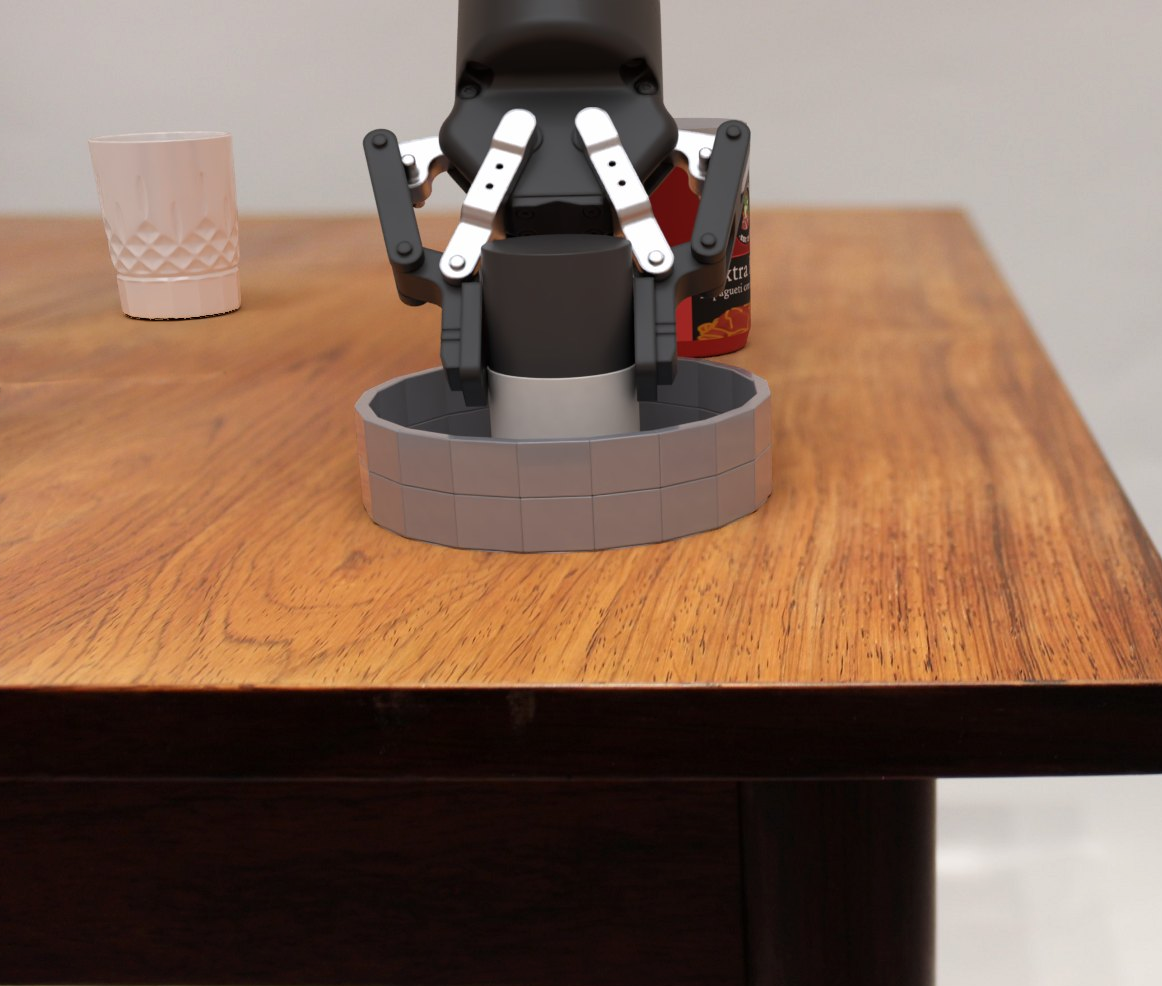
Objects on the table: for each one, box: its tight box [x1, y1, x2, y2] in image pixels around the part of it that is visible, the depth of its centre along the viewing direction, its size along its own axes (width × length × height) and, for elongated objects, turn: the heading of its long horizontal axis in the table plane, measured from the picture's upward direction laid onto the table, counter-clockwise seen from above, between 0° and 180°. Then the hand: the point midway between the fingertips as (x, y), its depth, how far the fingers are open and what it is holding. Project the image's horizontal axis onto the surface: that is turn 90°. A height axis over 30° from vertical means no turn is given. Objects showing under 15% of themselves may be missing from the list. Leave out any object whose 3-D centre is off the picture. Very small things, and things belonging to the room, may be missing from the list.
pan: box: [353, 356, 773, 555], centre depth 58 cm, size 14×14×4 cm
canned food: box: [633, 117, 752, 358], centre depth 84 cm, size 8×8×11 cm
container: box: [481, 234, 640, 439], centre depth 57 cm, size 5×5×8 cm
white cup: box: [87, 130, 242, 318], centre depth 98 cm, size 8×8×10 cm
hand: (559, 389), depth 55 cm, fingers closed on container, 5 cm apart
